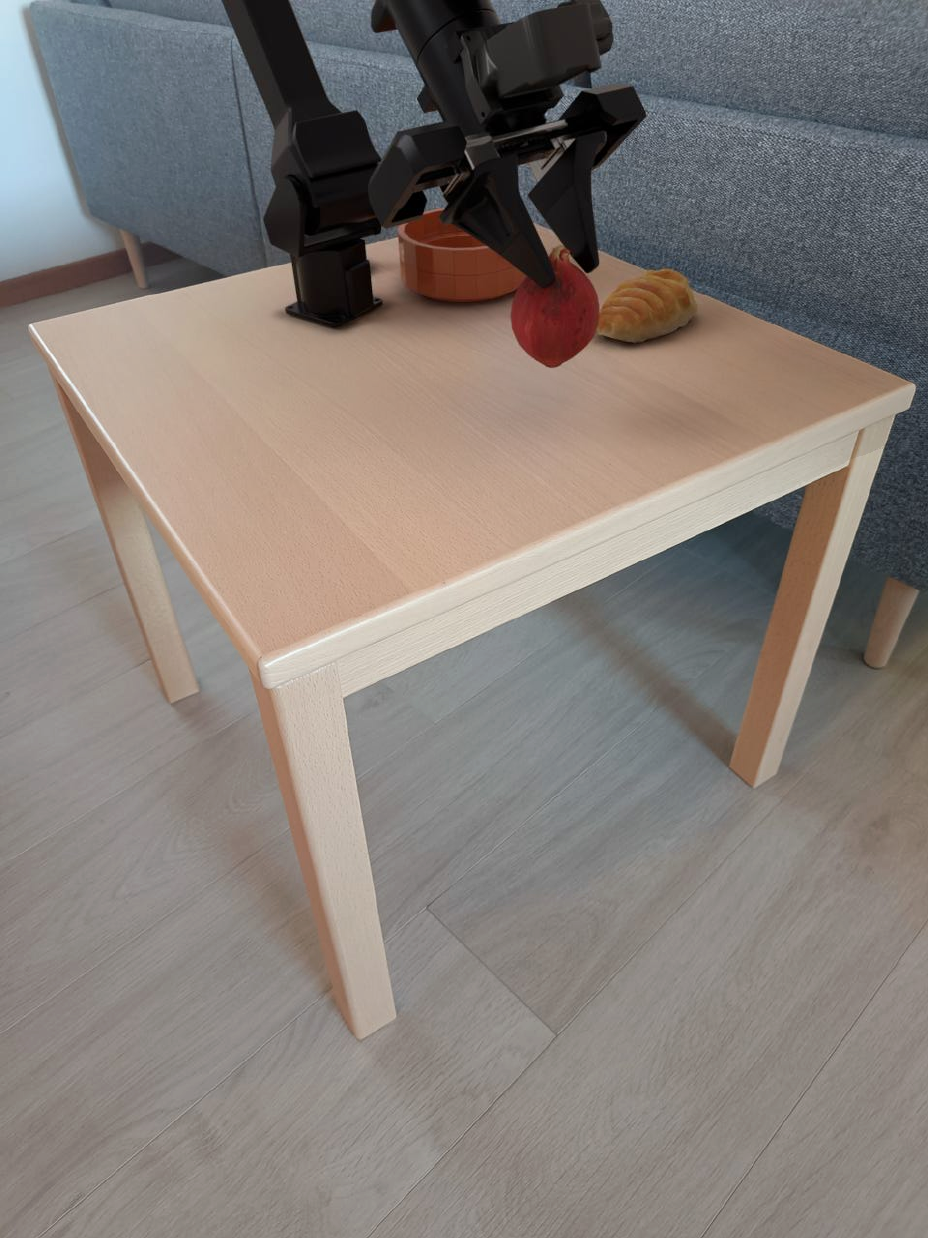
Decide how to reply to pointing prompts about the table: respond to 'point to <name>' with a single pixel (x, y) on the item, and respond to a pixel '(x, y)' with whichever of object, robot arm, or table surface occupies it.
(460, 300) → the bowl
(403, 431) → the table surface
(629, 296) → the pastry
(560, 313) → the onion
